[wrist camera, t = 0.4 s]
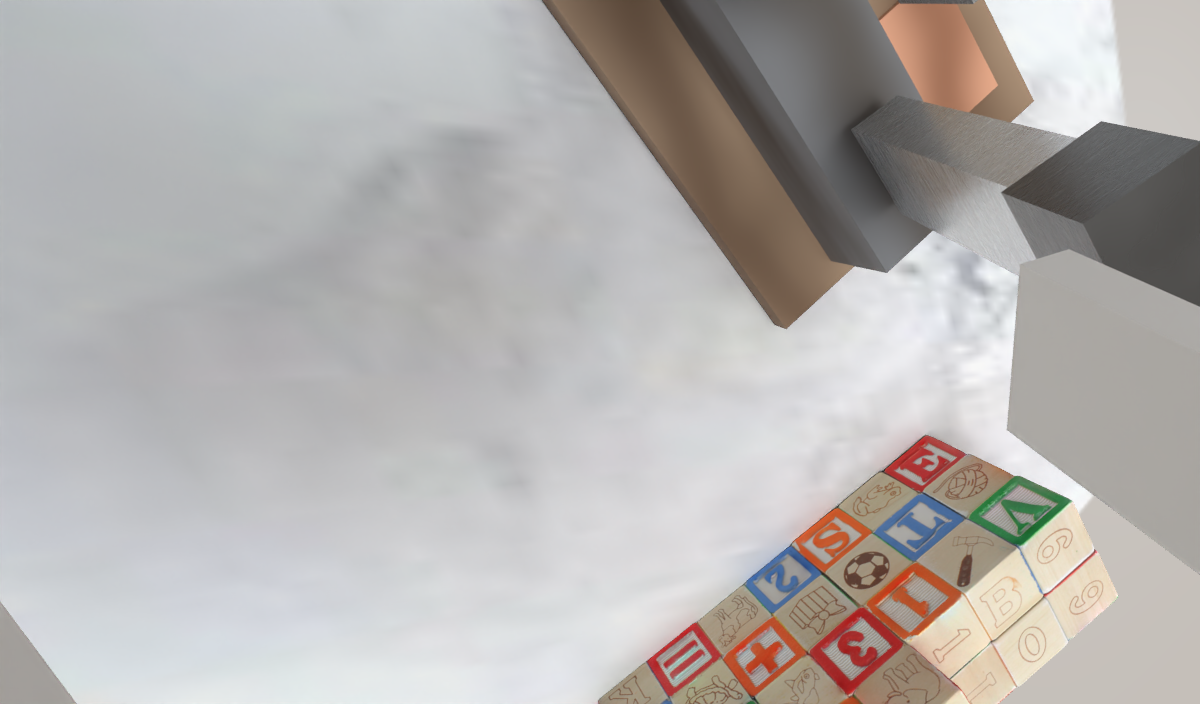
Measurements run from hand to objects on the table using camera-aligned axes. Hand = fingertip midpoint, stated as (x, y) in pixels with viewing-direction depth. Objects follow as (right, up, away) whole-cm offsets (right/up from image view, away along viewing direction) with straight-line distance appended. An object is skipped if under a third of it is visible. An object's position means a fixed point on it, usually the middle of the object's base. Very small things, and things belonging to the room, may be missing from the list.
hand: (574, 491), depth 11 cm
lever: (+11, +9, +21) cm, 26 cm away
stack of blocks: (+10, -11, +32) cm, 35 cm away
